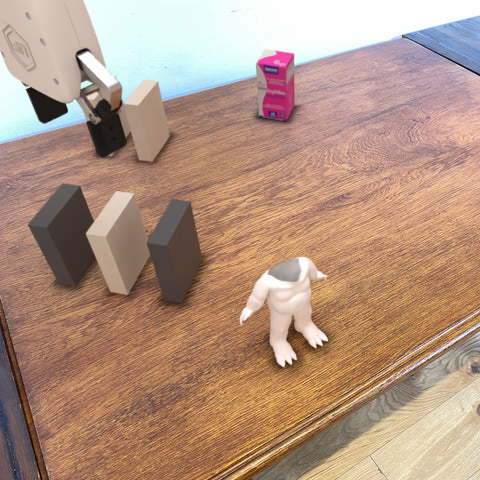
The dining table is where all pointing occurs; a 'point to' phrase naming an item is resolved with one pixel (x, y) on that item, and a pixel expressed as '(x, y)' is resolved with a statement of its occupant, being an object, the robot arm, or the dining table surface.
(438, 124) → the dining table surface
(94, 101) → the white book
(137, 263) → the white book
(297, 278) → the toy creature
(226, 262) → the dining table surface
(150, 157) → the white book
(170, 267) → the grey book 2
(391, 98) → the dining table surface
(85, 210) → the dark grey block
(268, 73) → the supplement box
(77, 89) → the robot arm
